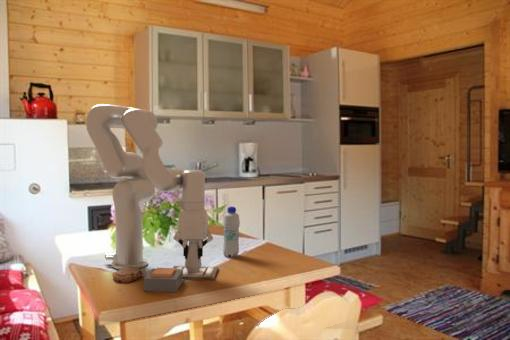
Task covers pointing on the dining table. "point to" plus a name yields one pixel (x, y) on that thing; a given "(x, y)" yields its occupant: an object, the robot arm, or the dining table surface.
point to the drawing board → (199, 273)
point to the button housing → (163, 282)
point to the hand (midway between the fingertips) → (193, 257)
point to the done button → (164, 272)
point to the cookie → (127, 275)
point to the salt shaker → (193, 257)
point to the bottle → (231, 232)
